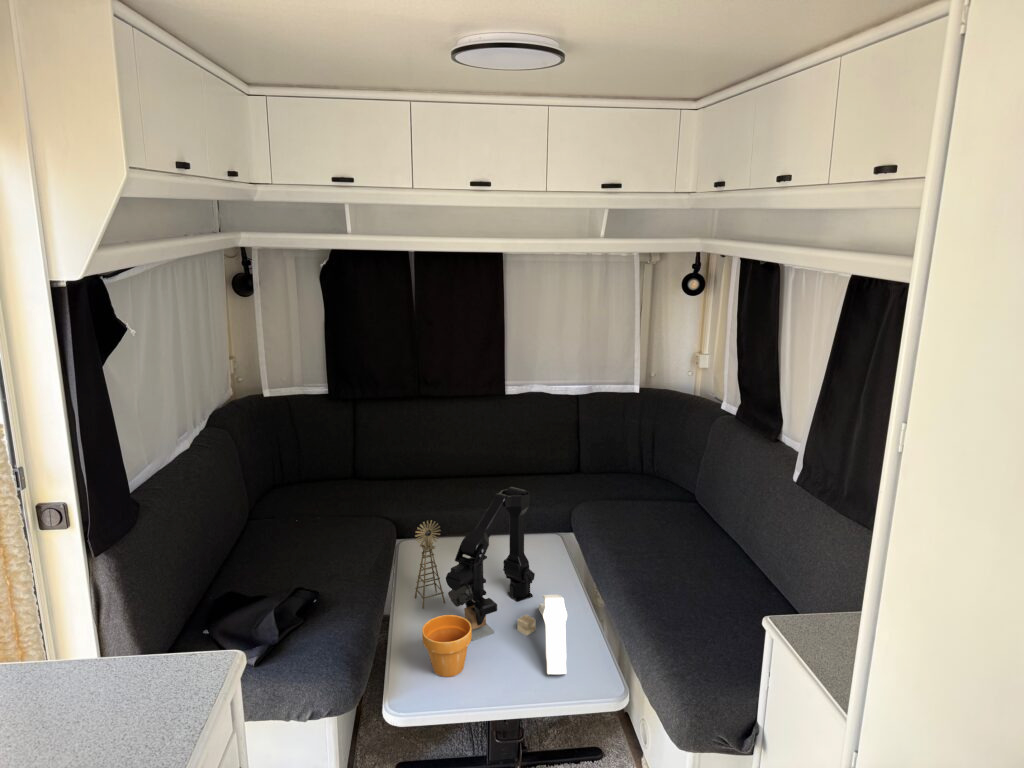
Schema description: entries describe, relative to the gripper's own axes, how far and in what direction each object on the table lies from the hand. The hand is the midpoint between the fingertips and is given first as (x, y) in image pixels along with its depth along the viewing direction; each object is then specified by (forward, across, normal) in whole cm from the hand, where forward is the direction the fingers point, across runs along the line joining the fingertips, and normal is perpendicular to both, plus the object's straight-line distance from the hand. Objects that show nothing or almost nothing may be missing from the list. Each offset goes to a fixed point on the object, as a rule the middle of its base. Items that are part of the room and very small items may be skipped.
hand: (475, 620), depth 220 cm
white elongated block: (+4, +19, +17) cm, 25 cm away
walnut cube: (+1, 0, 0) cm, 1 cm away
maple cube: (+3, +9, +13) cm, 17 cm away
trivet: (+3, 0, 0) cm, 3 cm away
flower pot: (+3, +13, -16) cm, 21 cm away
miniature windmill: (+3, -24, -5) cm, 25 cm away
